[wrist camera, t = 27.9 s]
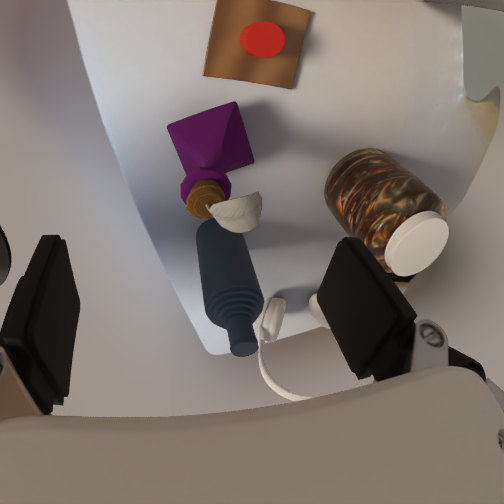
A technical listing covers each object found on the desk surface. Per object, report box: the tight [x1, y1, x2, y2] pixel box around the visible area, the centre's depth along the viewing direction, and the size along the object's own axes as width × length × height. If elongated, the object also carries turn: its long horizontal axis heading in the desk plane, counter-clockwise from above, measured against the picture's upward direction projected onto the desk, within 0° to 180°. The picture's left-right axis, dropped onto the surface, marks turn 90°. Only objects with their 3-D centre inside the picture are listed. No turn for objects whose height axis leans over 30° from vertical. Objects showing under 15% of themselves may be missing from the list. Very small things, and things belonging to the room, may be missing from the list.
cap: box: [240, 22, 285, 58], centre depth 26 cm, size 4×4×3 cm
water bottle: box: [196, 218, 264, 357], centre depth 36 cm, size 6×6×18 cm
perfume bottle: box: [167, 102, 262, 233], centre depth 27 cm, size 8×8×18 cm
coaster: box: [203, 0, 310, 89], centre depth 27 cm, size 10×10×1 cm
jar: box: [325, 149, 449, 276], centre depth 36 cm, size 12×12×15 cm
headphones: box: [257, 293, 366, 401], centre depth 47 cm, size 7×18×20 cm, turn 89°
